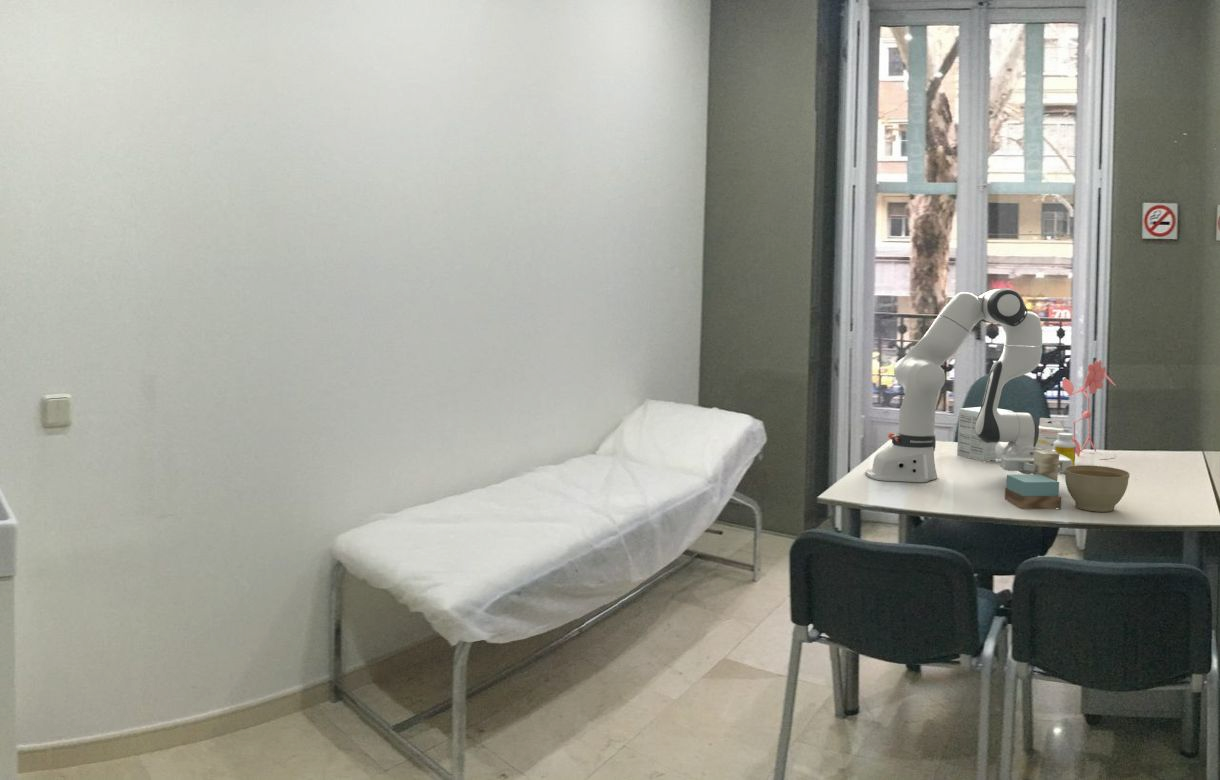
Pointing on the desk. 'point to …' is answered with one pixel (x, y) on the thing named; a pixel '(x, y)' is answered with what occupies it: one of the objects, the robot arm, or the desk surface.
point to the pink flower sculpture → (1093, 382)
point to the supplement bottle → (1065, 446)
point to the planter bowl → (1096, 486)
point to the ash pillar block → (1047, 463)
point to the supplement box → (973, 436)
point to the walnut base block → (1032, 501)
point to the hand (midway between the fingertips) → (1047, 469)
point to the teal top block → (1032, 485)
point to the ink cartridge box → (1049, 432)
